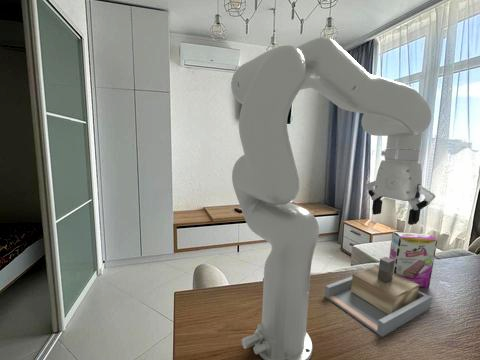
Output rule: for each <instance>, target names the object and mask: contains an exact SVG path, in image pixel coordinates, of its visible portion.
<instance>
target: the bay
mask: <svg viewBox="0 0 480 360" xmlns="http://www.w3.org/2000/svg"><path fill="white" fill-rule="evenodd" d="M351 286H352V275H351V276H348V277H346V278H344V279H340V280H338V281H334V282H333V283H329V284H327V285H325V294H324V298H326V299H327V300H329V301H330V302H331V303H333V304H335V305H336V306H337V307H339V308H340V309H341V310H343V311H344V312H345V313H347V314H349V315H350V316H352V317H353V318H355V319H356V320H357V321H359V322H360V323H361V324H363V325H365V326H366V327H367V328H368V329H370V330H371V331H372V332H373V333H376V334H377V335H379V336H380V337H382V338H383V337H385V336H386V335H388V334H389V333H391V332H393V331H394V330H396V329H397V328H399V327H401V326H403V325H404V324H406V323H408V322H409V321H412V320H413V319H414V318H415V319H416V317H418V316H420V315H421V314H424V313H425V312H427V311H429V310H430V309H431V304H432V298H433V296H430V295H428V294H427V293H424V292H422V291H420V290H418V296H417V300H416V301H414V302H412V303H410V304H408V305H406V306H404V307H402V308H401V309H399V310H397V311H395V312H393V313H391V314H389V315H388V314H387V313H385V312H384V311H382V310H380V309H379V308H377V307H375V306H374V305H372V304H371V303H369V302H367V301H366V300H364V299H362V298H361V297H359V296H358V295H356V294H354V293H353V292H351Z"/></svg>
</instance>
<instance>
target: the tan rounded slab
mask: <svg viewBox="0 0 480 360" xmlns="http://www.w3.org/2000/svg"><path fill="white" fill-rule="evenodd" d="M394 263H395V260H393V259H391V258H389V257H388V256H384V257H381V258H380V259H379V264H378V265H374V266H372V267H370V268H369V267H368V268H366V269H364V270H361V271H358V272H355V273H352V274H351V276H352V286H351V292H353V293H354V294H356V295H358V296H359V297H361V298H362V299H364V300H366V301H367V302H369V303H371V304H372V305H374V306H375V307H377V308H379V309H380V310H382V311H384V312H385V313H387V314H388V315H389V314H391V313H393V312H395V311H397V310H399V309H401V308H402V307H404V306H406V305H408V304H410V303H412V302H414V301H416V300H417V296H418V291H420V289H419V288H420V287H419V284H417V283H415V282H413V281H410V280H408V279H406V278H404V277H402V276H400V275H397V274H395V273H393V270H394Z"/></svg>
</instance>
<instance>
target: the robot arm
mask: <svg viewBox="0 0 480 360" xmlns="http://www.w3.org/2000/svg"><path fill="white" fill-rule="evenodd" d="M230 83H231V84H230V88H231V92H232V95H233V97H234V98H235V100H236V101H237V102H238V103H239V104H241V108H240V112H239V117H238V131H239V138H240V143H241V146H242V150H243V155H241V156H240V157H239V158H238V159H237V160H236V161H235V163H234V165H233V167H232V168H233V169H232V173H231V181H232V187H233V190H234V193H235V195H236V199H237V201H238V203H239V206H240V210H241V212H242V215H243V218H244V220H245V223H246V224H247V226H248V228H249V230H251V232H253V233H254V234H255V235H257V236H259V237H260V238H261V239H263V240H265V242H266V243H267V242H268V244H270V245H271V251H270V253H269V254H268V256H267V258H266V260H265V263H264V266H263V268H264V269H263V288H262V289H263V290H262V310H261V323H259V324H257V325H256V326H257V327H256V330H255V331H254V332H253V334H252V335H248V336H245V337H243V338H242V339H241V344H242V347H243V349H244V350H246V349H248V348H251V347H253V352H254V354H255V355H259V356H260V357H261V359H263V360H310V359H311V358H312V353H313V343H312V341H313V340H312V339H311V337H310V335H309V334H308V332H307V323H308V321H307V320H308V309H309V298H310V297H309V295H310V284H311V283H310V282H311V281H310V280H311V270H312V262H313V257H314V253H315V249H316V246H317V243H318V240H319V236H320V225H319V222H318V220H317V219H316V217H315V216H314V214H313V213H311V212H310V211H309V210H308V209H306V208H304V207H302V206H299V205H297V204H294V203H292V202H293V201H294V200H295V199H296V198H297V197H298V194H299V192H300V178H299V173H298V170H297V165H296V161H295V157H294V154H293V153H294V152H293V149H292V146H291V145H292V144H291V141H290V136H289V132H288V131H289V130H288V118H289V117H288V116H289V113H290V110H291V107H292V104H293V103H294V101H295V99H296V97H297V95H298V94H299V92H300V91H302V90H306V89H314V90H315V91H317V92H318V93H319V94H320V95H322V96H323V97H325V98H326V99H327V100H329V101H330V102H332V104H333V105H336V106H337V107H338V108H340V109H341V110H344V111H347V112H352V113H359V114H363V115H362V118H361V127H362V129H363V131H364V132H366V133H367V134H368V135H370V136H375V137H377V136H378V137H379V136H380V137H382V136H384V137H386V136H387V139H386V148H385V150H382V151H381V153H380V155H381V156H382V157H383V156H384V159H383V160H381V161H380V164H379V166H378V169H377V174H376V176H375V177H376V178H375V180H374V181H370V182H368V183H366V189H367V193H368V195H369V196H370V197H371V200H372V207H371V210H372V215H375V216H376V215H380V214H382V209H383V208H382V207H383V200H382V199H383V198H386V199H387V198H388V199H392V200H397V201H402V202H408V204H409V205H410V207H411V208H410V209H409V214H408V219H407V224H408V225H409V226H412V225H417V223H418V222H419V221H420V216H421V211H422V210H423V208H425V207H427V206H430V204H431V202H432V201H434V199H435V198H436V195H435V194H434V193H433V192H431V191H430V190H428V189H427V188H425V187H424V186H422V184H423V182H422V180H423V177H422V176H423V175H422V174H423V171H422V163H421V162H419V160H420V154H421V153H420V151H421V146H422V145H421V144H422V138H423V133H424V132H425V131H427V129H428V128H429V126H430V124H431V121H432V109H431V107H430V105H429V104H428V102H427V101H426V100H425V98H424V97H423V96H422V95H421V94H420V93H419V92H418V91H417V90H416V89H415V88H413V87H411V86H408V85H407V84H405V83H402V82H398V81H394V80H391V79H388V78H385V77H382V76H377V75H374V74H371V73H369V71H367V70H366V69H365V68H364V67H363V66H362V65H361V64H359V63H358V62H357V60H355V59H354V58H353V57H352V56H351V55H350V54H349V53H348V52H347V51H346V50H344V49H343V47H342V46H341V45H339V44H338V42H336V41H335V40H333V39H332V38H330V37H326V36H325V37H317V38H314V39H312V40H309V41H307V42H305V43H302V44H300V45H298V46H293V45H289V44H286V45H281V46H277V47H274V48H272V49H269V50H266V51H265V52H263V53H261V54H259V55H258V56H256V57H255V58H252V59H251V60H249V61H246V62H245V63H243V64H242V65H240V66H238V68H236V70H235V72H234V74H233V75H232V77H231V82H230ZM421 195H423V196H424V198H423V200H422V201H420V198H421Z"/></svg>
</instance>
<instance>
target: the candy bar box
mask: <svg viewBox="0 0 480 360" xmlns="http://www.w3.org/2000/svg"><path fill="white" fill-rule="evenodd" d="M391 234H392V235H391V243H390V249H389V255H388V256H389V257H388V258H391V259H393V260H395V263H394V270H393V273H395V274H397V275H400V276H402V277H404V278H406V279H408V280H410V281H413V282H415V283H417V284H419V288H427V289H428V288H430V284H431V278H432V273H433V266H434V262H435V256H436V250H437V244H438V240H439V239H437V238H436V237H434V236H432V235H431V234H428V233H415V232H401V231H392V233H391Z"/></svg>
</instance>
